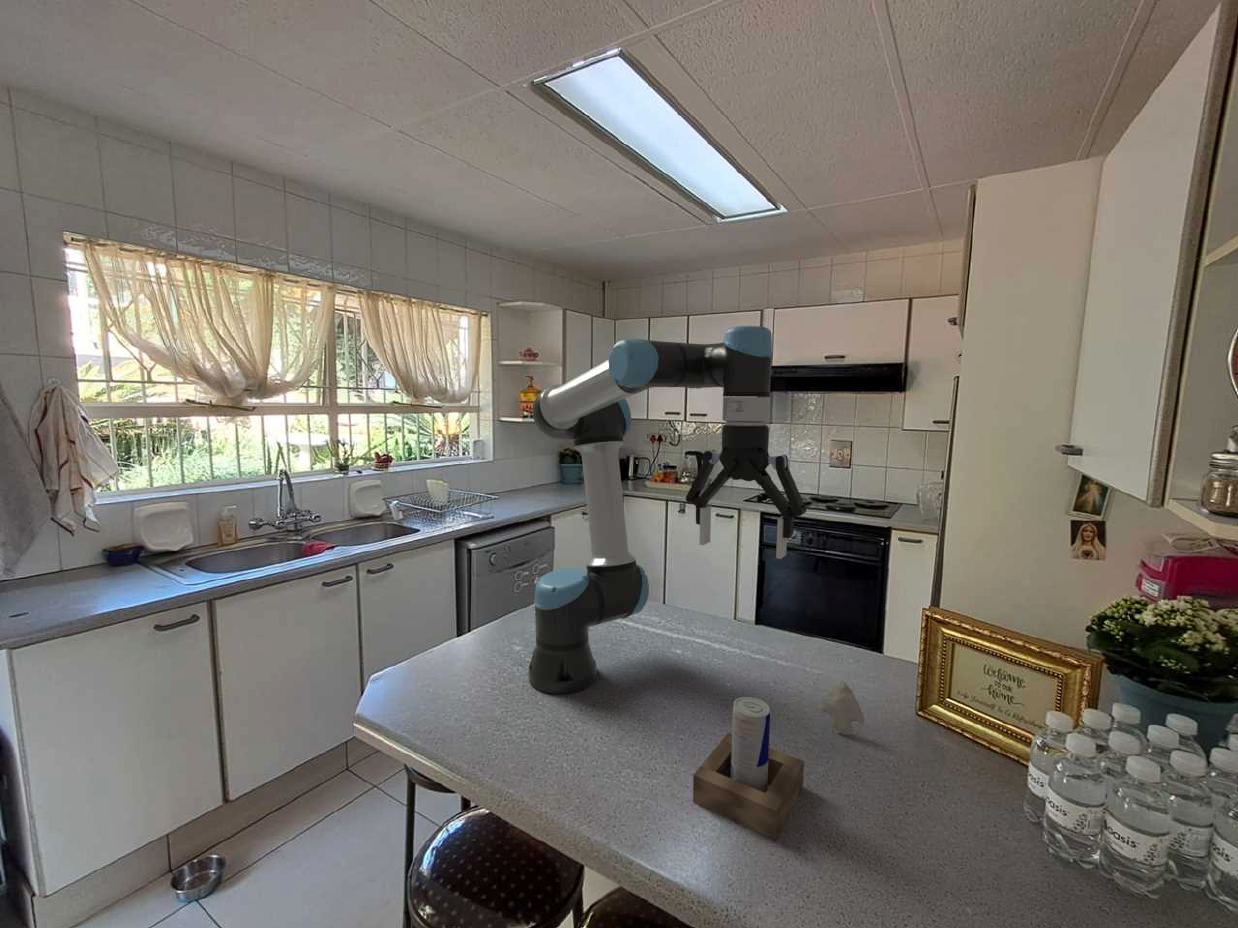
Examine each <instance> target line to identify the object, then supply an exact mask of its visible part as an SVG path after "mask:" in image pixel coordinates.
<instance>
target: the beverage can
mask: <svg viewBox="0 0 1238 928" xmlns="http://www.w3.org/2000/svg"><path fill="white" fill-rule="evenodd" d="M770 708H771V707H770V706H769V705H768V703H766V702H765V701H764V700H762V699H760V698H756V697H752V696H741V697H738V698H736V699H734V701H733V708H732V726H731V727H732V730H731V734H732V756H731V777H730V778H731V779H733V780H735V781H738V782H740V783H742V784H745V785H747V786H749V787H752V788H754V789H757V790H759V791H761V792H764V793H766V792H767V790H768V783H767V782H768V758H769V748H770V730H771V709H770Z"/></svg>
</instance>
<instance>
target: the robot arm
mask: <svg viewBox="0 0 1238 928" xmlns="http://www.w3.org/2000/svg"><path fill="white" fill-rule="evenodd" d="M772 340H773V337H772V332H771V329H769V328H768V327H764V326H759V325H758V326H757V325H743V326H742V325H741V326H732V327H728V328H727V329H726V330H725V332H724V338H723V340H722V342H718V343H717V342H716V343H704V344H703V343H689V342H677V341H676V342H675V341H662V340H661V341H660V340H649V339H648V340H647V339H644V338H633V339H621V340H619V341H618V342H616V343H615V344H614V345H613V349H612V350H610V352H609V356H608V359H607V360H605V361H604V362H602V363H599V364H598V365H596V366H594V367H592V368H591V369H589V370H587V371H586V372H584V373H582V374H579V375H578V376H577V377H574V378H573V379H571V380H569V381H568V382H565V383H564V384H552V385H550V386H549V387H547V388H545V389H543V390H542V391H541V392H540V393H539V394H538V395H537V396H536V397H535V399H534V400H533V403H532V404H533V405H532V409H531V413H532V419H533V421H534V424H535V425H536V428H538V429H539V430H540V431H541V432H542V434H544V435H546V436H548V437H550V438H554V439H557V440H573V443H574V444H573V445H574V449H575V450H576V451H578V452H579V453H580V455H581V459H582V470H583V480H584V491H585V499H586V508H587V509H586V510H587V518H588V527H589V528H588V529H589V537H590V540H589V541H590V549H591V550H590V551H591V557H590V558H589V559H588V561H587V562H586V571H585V570H584V569H581V568H577V567H570V568H566V567H565V568H559V569H556V570H552V571H550V572H547V573H546V574H544V575H543V576H541V577H540V578H539V579H538V581H537V582H536V584H535V591H534V601H533V603H534V616H535V617H534V618H535V645H534V650H533V653H532V655H531V659H530V662H529V666H528V682H529V684H530V685H531V686H532V687H533V688H535V689H536V690H538V691H541V692H544V693H548V694H557V695H559V694H561V695H562V694H571V693H575V692H579V691H583V690H584V689H586V688H588V687H589V686H590V685H592V684H593V683H594V682H595V680H596V679H597V662H596V660H595V659H594V656H593V652H592V649H591V646H590V644H589V629H590V628H591V627H595V626H598V625H601V624H605V623H609V622H612V621H613V622H614V621H616V620H619V619H626V618H629V617H631V616H633V615H637V614H639V613H640V612H641V611H643V610H644V607H645V606H646V605H647V603H648V598H649V593H650V583H649V579H648V576H647V574H645V573H646V570H645V569H644V568H643V567H642V566H641V565H639V564H637V559H636V557H635V556H634V555H632V553H630V552H629V545H628V536H627V534H628V533H627V525H626V516H625V508H624V506H625V505H624V497H623V496H624V495H623V488H622V487H623V486H622V479H621V469H620V458H619V450H620V449H621V447H622V446H623V445H624V437H625V436H626V435H627V434H628V433H629V431H630V429H631V425H632V412H631V408H630V405H629V403H628V401H627V398H629V397H631V396H633V395H635V394H639V393H641V392H644V391H645V390H646V391H647V390H648V389H652V388H688V389H707V388H722V391H723V393H722V397H723V398H722V417H721V418H722V421H723V422H725V424H723V426H721V451H720V452H717V451H716V450H715V449H710V450H706V451H704V452H703V457H702V464H701V466H700V468H699V470H698V472H697V474H696V476H695V478H694V480H693V482H692V483H691V486H690V487H689V490H688V492H687V494H686V496H685V501H686V503H691V504H693V505H694V507H695V524H696V525H699V545H700V546H704V545H707V544H709V543H711V531H712V529H711V527H712V526H711V524H712V520H711V519H712V505H708V504H709V502H710V501H711V500H712V498H713V497H714V496H715V495H716V494H717V493H718V492H719V491H720V489H722V488H723V486H724V485H725V484H726V483H727V481H729V480H730V479H732V481H740V480H742V481H745V482H752V481H755V482H756V484H758V485H759V486H760V487H761V489H763V492H764V493H765V494H766V496H767V497H768V498H769V500H770V501H771V502H772V504H773V505H774V507H776V509H777V510H778V512H779V513H780V514H781V516H780V517H778V518H777V523H776V524H777V527H776V554H775V559H777V560H778V559H779V560H781V559H783V558H784V557H785V556H787V549H788V547H787V546H788V545H787V543H788V539H791V538H792V537H793V534H794V524H795V521H794V519H795V518H796V517H800V516H802V515H804V514H806V513H807V507H806V505H805V503H804V500H803V498H802V496H801V493H800V491H799V489H798V487H797V484H796V482H795V480H794V478H793V475H792V473H791V471H790V469H789V457H788V455H786V454H782V455H776V456H770V455H769V454H770V453H769V443H770V442H769V441H770V437H769V436H770V433H769V432H770V427H769V426H768V425H766V423H768V422H769V421H770V416H771V413H770V412H771V411H770V410H771V408H770V407H771V380H772V379H771V376H772V364H773V362H772V361H773V356H774V353H773V341H772ZM718 462H719V463H721V466H722V467H723V468H722V469H721V471H719V473H718V474H717V475H716V477H715V479H714V480H713V481H712V482H711V483H710V484H709V485H708V487H707V488H705V490H704V487H705V485H706V483H707V482H708V480H709V477H710V476H711V473H712V471H713V469H714V467H715V466H716V464H718ZM769 465H771V466H772V468H773V469H774V470H775V471H776V474H777V477H778V479H779V481H780V483H781V486H782V488H783V491H784V493H785V495H786V497H785V496H784V495H783V493H782V491H780V489H779V488H778V486H777V485H776V484H775V482H774V481H773V479H772V476H771V475H770V474H769V473H768V471H767V468H768V466H769ZM703 490H704V491H703ZM702 491H703V492H702Z"/></svg>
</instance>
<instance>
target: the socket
mask: <svg viewBox="0 0 1238 928" xmlns="http://www.w3.org/2000/svg"><path fill="white" fill-rule="evenodd" d="M731 756H732V732H731V733H730V732H727V733H726V735H724V737H723V738H722V739H721V741H719V743H718V744H717V746H716V747H715V748H714V749H713V750H712V752H711V753H710V754H709V755H708V756H707V758H706V759H705V760H704V761H703V762H702V764H701V765H700V766H699V767H698V769H697V770H696V771H695V772H694V774H693V778H692V780H693V783H692V802H693V803H695V804H697V805H699V806H702V807H704V808H706V809H708V810H710V811H712V812H714V813H717V814H718V815H721V816H723V817H726V818H727V819H729V820H731V821H733V822H736V823H738V824H740V825H742V826H744V827H746V828H748V829H750V830H753V831H754V832H756V833H758V834H759V833H760V834H761V835H763V836H766V837H768V838H770V839H772V840H773V841H776V840H777V838H778V836H779V835H780V832H781V830H782V829H783V826H784V825H785V822H786V821H787V819H788V817H789V814H790V812H791V811H792V809H793V807H794V805H795V803H796V801H797V800H798V798H799V795H800V793H801V791H802V790H803V787H804V773H805V772H804V771H805V769H804V768H805V761H804V760H802V759H799V758H797V757H795V756H791V755H789V754H787V753H784V752H781V751H779V750H775V749H773V748H770V747H769V758H768V782H767V785H769V787H768V788H767V792H766V793H764V792H761V791H759V790H757V789H754V788H752V787H749V786H747V785H745V784H742V783H740V782H738V781H735V780H733V779H731Z"/></svg>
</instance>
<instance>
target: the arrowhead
mask: <svg viewBox="0 0 1238 928" xmlns="http://www.w3.org/2000/svg"><path fill="white" fill-rule="evenodd" d="M819 711H820V713H821V714H825V713H827V714H829V716H830V717H829V718H830V719H829V720H830V721H831V723H832V725H833V728H834V729H835V730H836V732H837V733H838V734H841V735H843V736H846V737H847V736H851V735H852V736H853V735H854V734H855V729H854V727H853V722H858V723H860V724H861V725H862V726H864V725H865V716H864V712H863V711H862V709H861V707H860V703H859V702H858V700H857V699H856V696H855V694H854V692H853V690H852V689H851V688H850V687H849V685H848V683H846V682H845V681H844V680H839V681H838V682H837V683H836V684H835V685H833V686H832V687H831V689H830V690H829V691H828V692H827V694H826V696H825V697H824V698H823V699H822V701H821V703H820V705H819Z"/></svg>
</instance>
